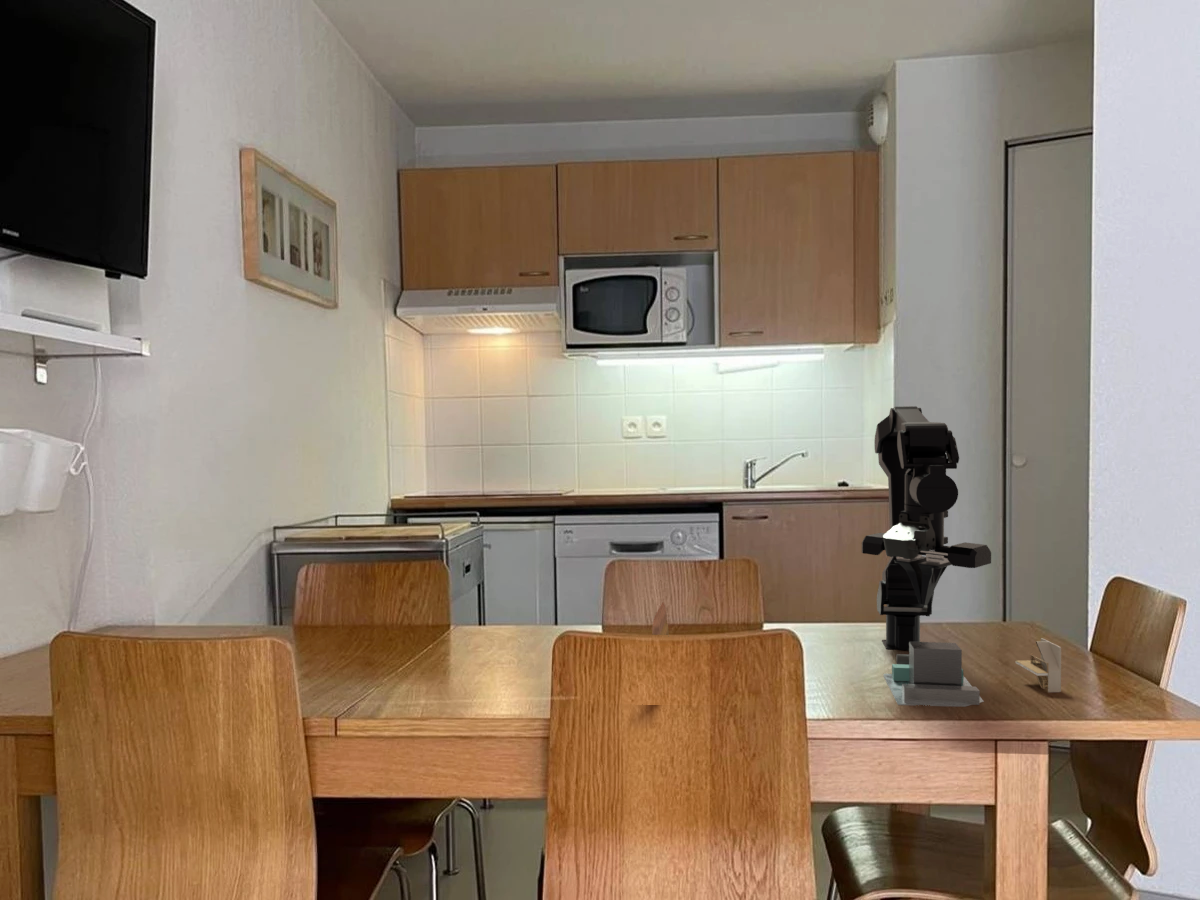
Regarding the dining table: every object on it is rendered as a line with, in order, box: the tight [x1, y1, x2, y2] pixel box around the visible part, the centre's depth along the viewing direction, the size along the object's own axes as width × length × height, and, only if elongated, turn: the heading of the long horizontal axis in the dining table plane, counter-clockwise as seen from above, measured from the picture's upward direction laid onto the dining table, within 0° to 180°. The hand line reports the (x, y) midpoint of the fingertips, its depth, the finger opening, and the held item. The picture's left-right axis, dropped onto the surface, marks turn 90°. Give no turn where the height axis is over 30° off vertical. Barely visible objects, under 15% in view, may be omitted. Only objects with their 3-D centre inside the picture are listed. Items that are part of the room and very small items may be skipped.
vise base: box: [882, 673, 985, 708], centre depth 132 cm, size 15×12×2 cm
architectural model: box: [1015, 637, 1062, 693], centre depth 133 cm, size 3×7×7 cm, turn 1°
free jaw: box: [891, 653, 964, 683], centre depth 139 cm, size 8×10×2 cm
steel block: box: [908, 641, 963, 686], centre depth 130 cm, size 4×6×7 cm, turn 80°
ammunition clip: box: [651, 602, 669, 636], centre depth 136 cm, size 11×2×12 cm, turn 170°
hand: (923, 604), depth 139 cm, fingers closed
